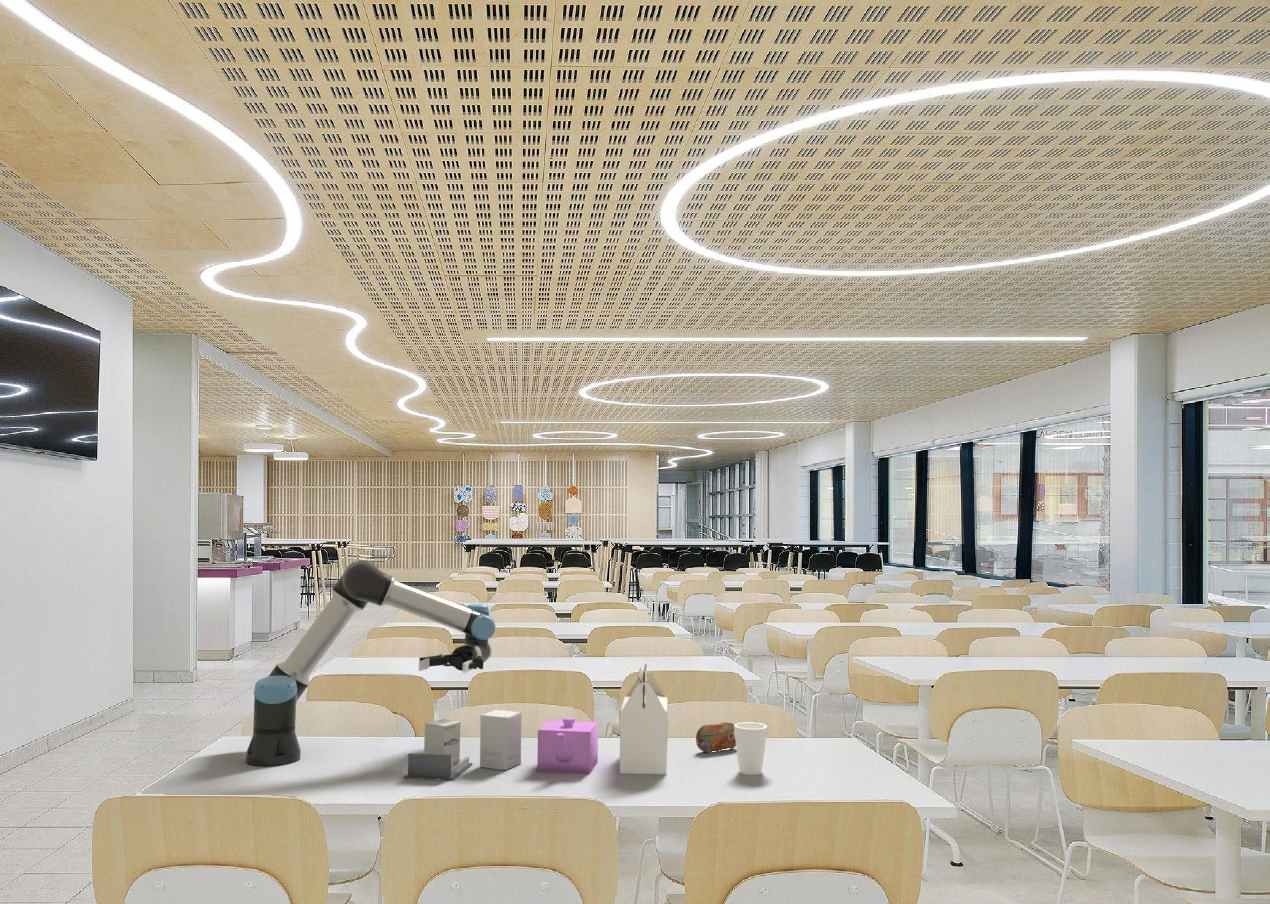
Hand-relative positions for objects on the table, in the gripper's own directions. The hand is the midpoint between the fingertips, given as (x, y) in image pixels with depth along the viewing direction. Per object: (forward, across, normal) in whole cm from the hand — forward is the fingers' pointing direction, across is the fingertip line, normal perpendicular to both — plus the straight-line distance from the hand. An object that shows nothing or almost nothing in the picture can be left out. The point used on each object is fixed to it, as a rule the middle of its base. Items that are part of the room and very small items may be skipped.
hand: (441, 667), depth 288 cm
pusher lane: (+10, -4, -28) cm, 29 cm away
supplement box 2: (0, -19, -28) cm, 33 cm away
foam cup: (-8, -90, -27) cm, 95 cm away
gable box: (-10, -59, -28) cm, 66 cm away
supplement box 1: (+8, -4, -27) cm, 28 cm away
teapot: (-1, -38, -28) cm, 47 cm away
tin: (-31, -79, -27) cm, 89 cm away
